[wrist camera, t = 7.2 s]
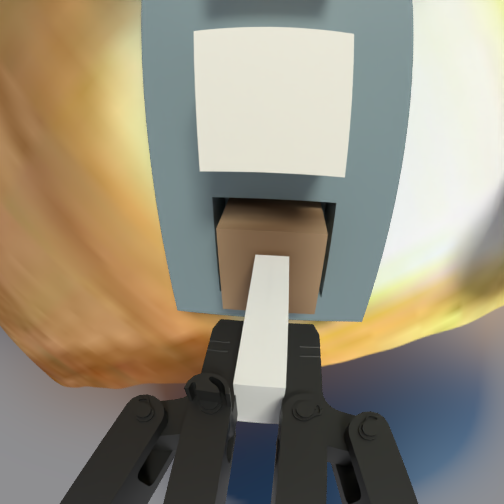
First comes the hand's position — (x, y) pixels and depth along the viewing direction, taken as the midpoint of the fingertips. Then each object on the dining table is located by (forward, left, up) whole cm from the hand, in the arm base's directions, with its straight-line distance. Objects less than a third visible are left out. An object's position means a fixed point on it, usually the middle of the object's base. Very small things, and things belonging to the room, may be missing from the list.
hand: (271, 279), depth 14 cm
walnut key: (0, 0, -4) cm, 4 cm away
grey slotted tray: (0, +8, -6) cm, 10 cm away
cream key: (0, +8, -3) cm, 8 cm away
